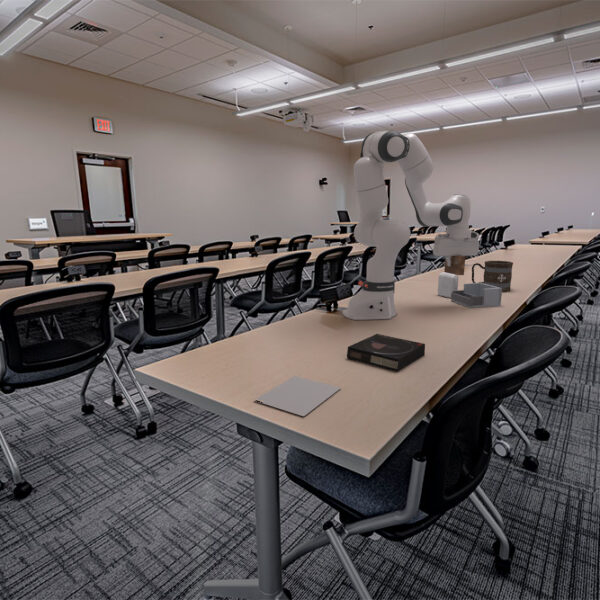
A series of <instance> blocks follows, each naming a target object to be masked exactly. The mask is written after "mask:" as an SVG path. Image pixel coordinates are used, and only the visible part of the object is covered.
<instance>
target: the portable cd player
mask: <svg viewBox="0 0 600 600" xmlns="http://www.w3.org/2000/svg"><path fill="white" fill-rule="evenodd" d="M425 353H426V344H425V343H423V342H418V341H415V340H414V341H412V340H409V339H403V338H400V337H394V336H389V335H384V334H381V333H380V334H379V333H376V334H373V335H371V336H369V337H367V338H365V339H362V340H359V341H358V342H355V343H353V344H351V345H349V346H347V351H346V358H347V359H348V360H352V361H355V362H359V363H363V364H365V365H371V366H375V367H378V368H382V369H385V370H389V371H393V372H396V373H398V372H400V371H402V370H403V369H404V368H406V367H408V366H410V365H411V364H412V363H414V362H415V361H417V360H420V358H423V357H424V356H425Z"/></svg>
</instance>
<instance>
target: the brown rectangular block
mask: <svg viewBox="0 0 600 600" xmlns="http://www.w3.org/2000/svg"><path fill="white" fill-rule="evenodd" d="M444 257H445V259H444V271H443V272H446V273H450V274H454V275H457V276H464V275H465V267H466V256H451V258H450V260H451V262H453V266H447V264H448V262H447V260H446V256H444Z"/></svg>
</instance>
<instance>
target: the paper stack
mask: <svg viewBox="0 0 600 600" xmlns="http://www.w3.org/2000/svg"><path fill="white" fill-rule="evenodd" d="M339 390H341V387H339V386H336V385H331V384H328V383H324V382H320V381H316V380H312V379H308V378H305V377H301V376H297V375H294V376H292V377H291V378H289V379H287V380H285V381H284V382H282V383H280V384H278V385H277V386H275V387H274V388H272V389H270V390H269V391H266V392H265V393H264V394H262V395H260V396H259V397H257V398H256V399H258V400H259V401H261V400H263V401H264V402H263V401H261V402H263V403H261V402H259V404H260V403H261V404H264V405H267V406H270V407H272V408H276V409H280V410H283V411H285V412H289V413H292V414H295V415H298V416H302V417H305V416H306V415H308V414H309V413H310V412H312V411H313V410H314V409H315V408H317V407H318V406H320V405H321V404H322V403H323V402H325V401H326V400H327V399H328V398H330V397H331V396H333V395H334V394H335V393H336V392H338V391H339Z"/></svg>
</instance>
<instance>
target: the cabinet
mask: <svg viewBox="0 0 600 600" xmlns="http://www.w3.org/2000/svg"><path fill="white" fill-rule="evenodd" d="M502 294H503V293H502V288H499V287H495V286H491V285H487V284H483V283H479V282H476V283H473V282H472V283H471V282H469V283H463V290H462V289H460V290H457V291H453V293H451V298H450V302H453V303H454V304H455V303H456V304H458V305H461V306H463V305H464V307H466V306H467V308H470V309H476V308H478V307H480V308H491V307H501V306H502Z"/></svg>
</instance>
